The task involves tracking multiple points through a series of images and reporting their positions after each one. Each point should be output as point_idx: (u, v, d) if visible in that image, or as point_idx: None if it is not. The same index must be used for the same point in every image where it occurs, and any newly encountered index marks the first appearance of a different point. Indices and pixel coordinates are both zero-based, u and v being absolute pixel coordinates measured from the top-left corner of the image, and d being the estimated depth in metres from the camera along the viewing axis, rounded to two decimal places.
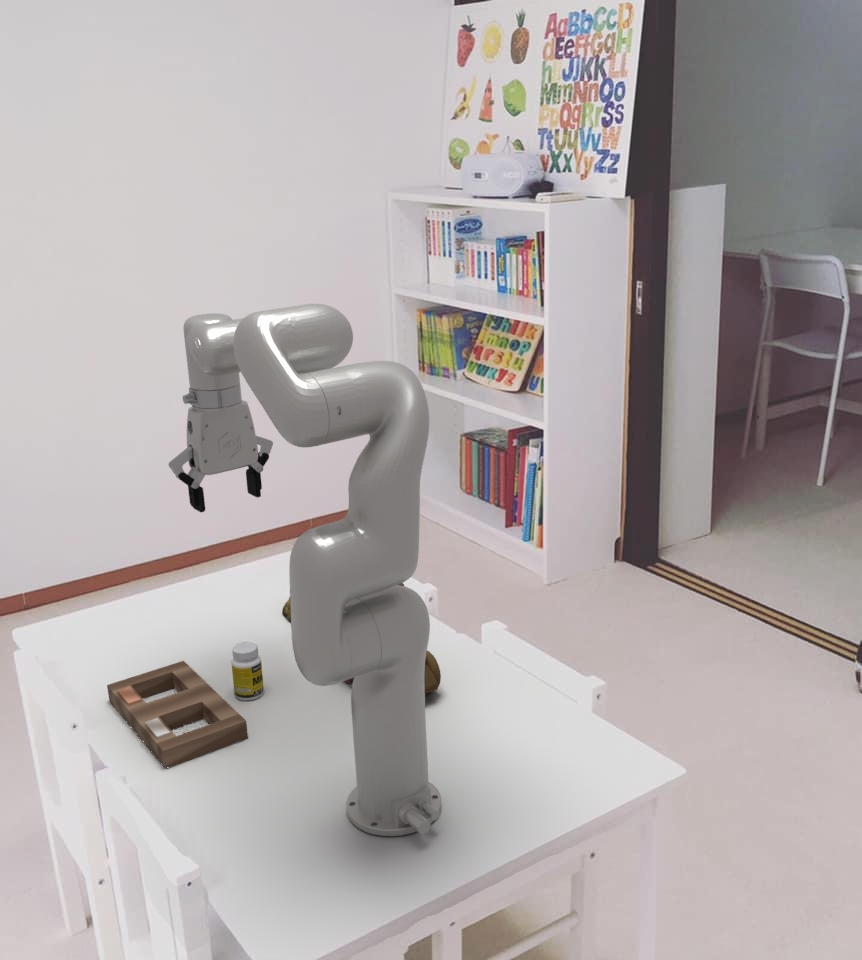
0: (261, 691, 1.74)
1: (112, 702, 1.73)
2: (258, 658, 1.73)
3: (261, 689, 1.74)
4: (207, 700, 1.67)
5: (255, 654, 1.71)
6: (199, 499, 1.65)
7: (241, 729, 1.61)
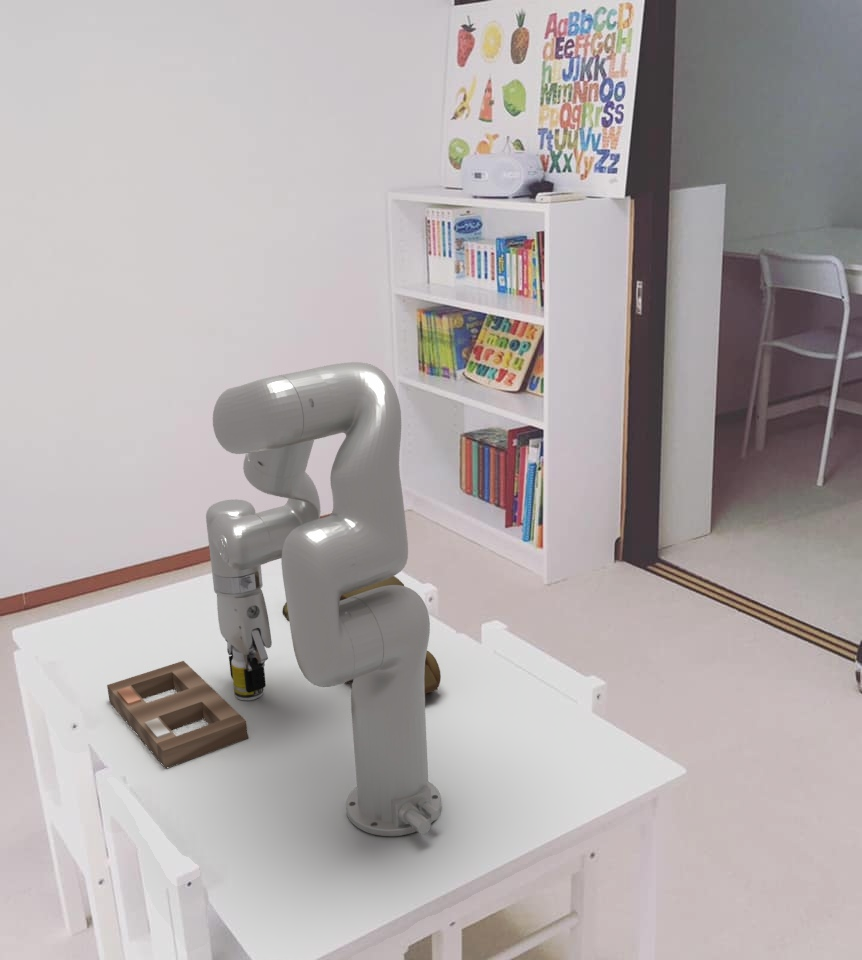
0: (261, 691, 1.74)
1: (112, 702, 1.73)
2: None
3: None
4: (207, 700, 1.67)
5: (255, 654, 1.71)
6: (262, 675, 1.72)
7: (241, 729, 1.61)
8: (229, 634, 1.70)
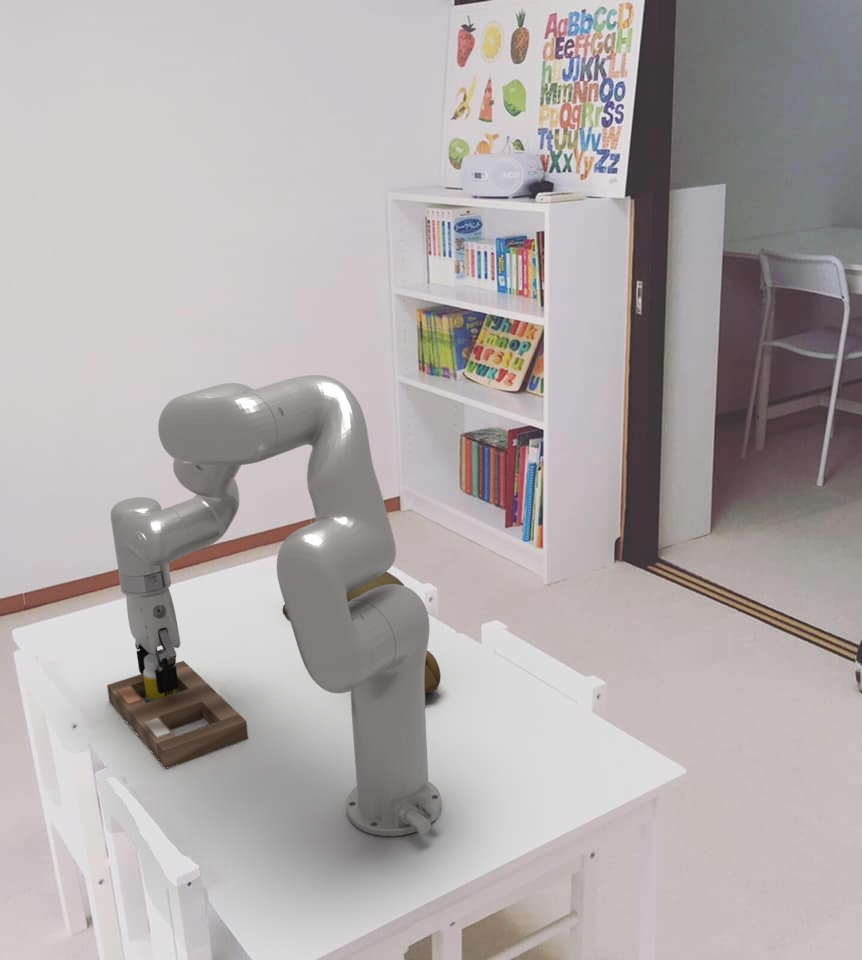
0: None
1: (112, 702, 1.73)
2: None
3: None
4: (207, 700, 1.67)
5: None
6: (175, 676, 1.68)
7: (241, 729, 1.61)
8: (137, 634, 1.67)
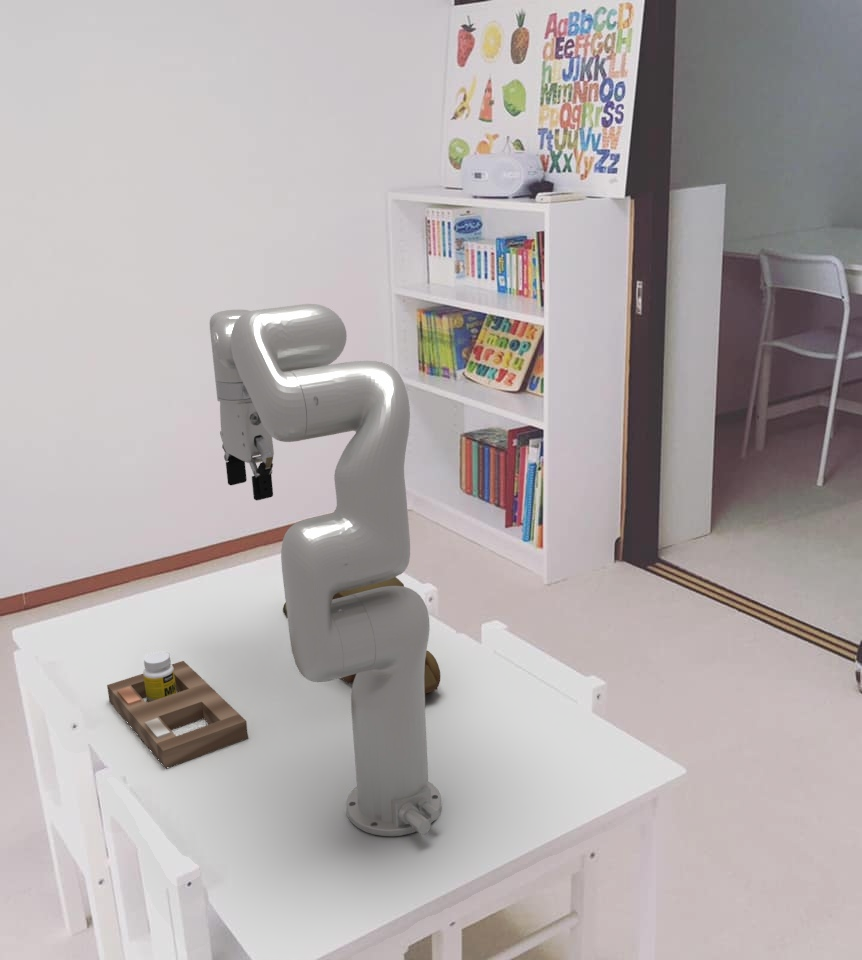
0: None
1: (112, 702, 1.73)
2: (170, 668, 1.70)
3: None
4: (207, 700, 1.67)
5: (167, 664, 1.69)
6: (270, 484, 1.73)
7: (241, 729, 1.61)
8: (232, 445, 1.73)
